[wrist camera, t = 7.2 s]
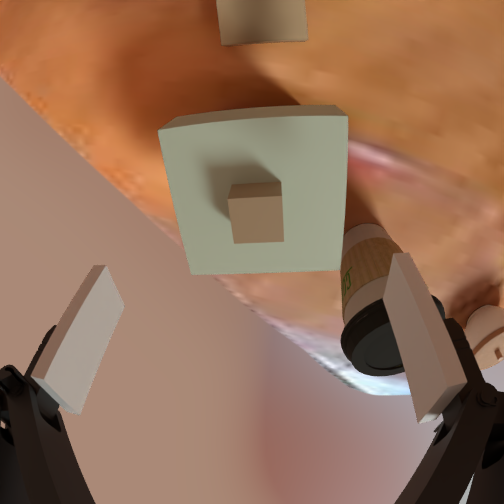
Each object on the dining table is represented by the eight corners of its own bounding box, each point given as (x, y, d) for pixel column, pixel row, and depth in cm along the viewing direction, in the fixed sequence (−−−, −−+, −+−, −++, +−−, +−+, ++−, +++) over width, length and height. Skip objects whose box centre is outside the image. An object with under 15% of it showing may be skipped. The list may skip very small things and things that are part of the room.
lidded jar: (445, 336, 44) (461, 380, 37) (477, 291, 38) (502, 336, 30) (482, 337, 45) (498, 376, 37) (513, 297, 38) (536, 336, 31)
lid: (335, 105, 19) (356, 123, 14) (332, 239, 25) (344, 288, 20) (176, 116, 20) (144, 139, 15) (201, 244, 26) (185, 293, 21)
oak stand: (297, -25, 18) (300, -34, 16) (304, 41, 22) (308, 39, 20) (219, -19, 19) (212, -27, 17) (226, 46, 23) (221, 45, 21)
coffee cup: (310, 264, 37) (321, 371, 25) (349, 195, 31) (390, 295, 19) (375, 286, 38) (403, 384, 26) (417, 227, 33) (471, 322, 21)
